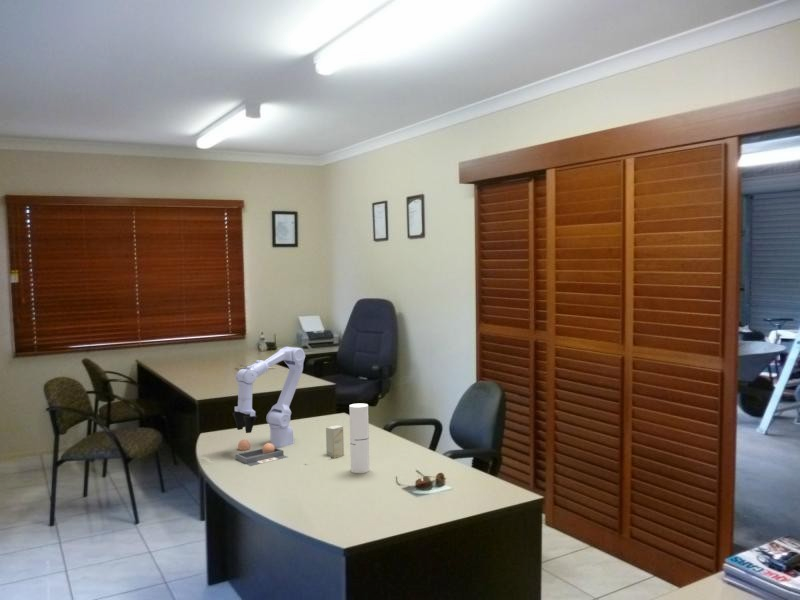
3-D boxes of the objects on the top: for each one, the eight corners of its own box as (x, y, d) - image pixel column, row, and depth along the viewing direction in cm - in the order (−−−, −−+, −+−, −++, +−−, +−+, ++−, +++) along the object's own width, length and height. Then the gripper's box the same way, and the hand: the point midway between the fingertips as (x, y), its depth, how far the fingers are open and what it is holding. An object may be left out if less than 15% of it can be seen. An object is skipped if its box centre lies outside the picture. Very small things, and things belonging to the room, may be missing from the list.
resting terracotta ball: (271, 452, 266) (270, 440, 265) (277, 455, 262) (276, 443, 262) (260, 455, 262) (259, 443, 262) (266, 457, 259) (265, 445, 258)
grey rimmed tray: (272, 452, 269) (272, 445, 269) (288, 459, 259) (288, 452, 259) (235, 461, 258) (234, 454, 258) (250, 468, 248) (250, 461, 248)
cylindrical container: (366, 473, 239) (365, 407, 238) (348, 472, 241) (347, 407, 240) (371, 467, 246) (370, 403, 245) (353, 466, 248) (352, 403, 247)
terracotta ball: (246, 449, 275) (246, 437, 275) (252, 451, 272) (252, 439, 271) (236, 451, 272) (235, 439, 272) (241, 453, 268) (241, 442, 268)
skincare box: (334, 458, 259) (333, 429, 258) (326, 457, 262) (325, 427, 261) (344, 455, 264) (343, 425, 263) (336, 453, 267) (335, 424, 266)
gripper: (228, 396, 267) (227, 429, 267) (244, 401, 256) (243, 435, 256) (243, 395, 272) (242, 427, 271) (260, 400, 261) (259, 433, 261)
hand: (244, 431), depth 264 cm, fingers open, 7 cm apart
